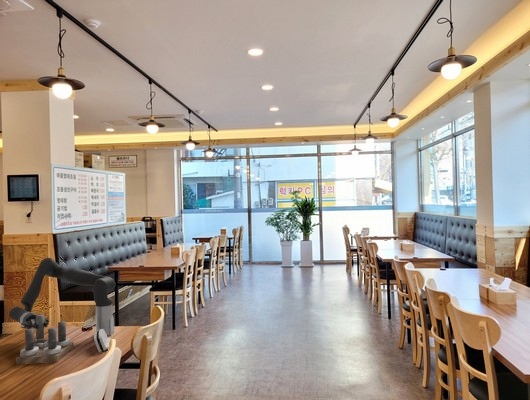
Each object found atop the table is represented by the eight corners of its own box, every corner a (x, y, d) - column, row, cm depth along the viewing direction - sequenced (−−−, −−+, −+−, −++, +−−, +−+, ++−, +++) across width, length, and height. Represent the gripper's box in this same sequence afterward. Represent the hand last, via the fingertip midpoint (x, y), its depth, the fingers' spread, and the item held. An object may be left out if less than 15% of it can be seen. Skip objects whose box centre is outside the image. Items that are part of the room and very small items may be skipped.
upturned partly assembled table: (73, 347, 204) (73, 319, 204) (57, 362, 185) (57, 331, 185) (36, 349, 202) (36, 321, 203) (16, 364, 184) (15, 333, 184)
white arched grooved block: (109, 351, 198) (102, 333, 197) (100, 355, 197) (92, 338, 196) (111, 340, 214) (104, 324, 213) (102, 344, 212) (96, 328, 212)
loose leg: (45, 337, 201) (45, 314, 201) (41, 339, 197) (41, 316, 197) (38, 337, 201) (38, 314, 201) (34, 339, 197) (34, 316, 197)
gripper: (15, 316, 203) (26, 322, 192) (44, 310, 214) (56, 315, 203) (15, 330, 203) (26, 337, 192) (44, 323, 214) (56, 329, 203)
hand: (42, 326), depth 197 cm, fingers closed on loose leg, 3 cm apart
